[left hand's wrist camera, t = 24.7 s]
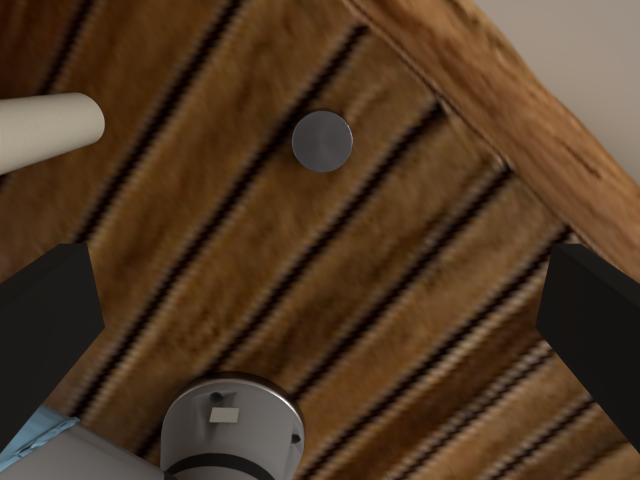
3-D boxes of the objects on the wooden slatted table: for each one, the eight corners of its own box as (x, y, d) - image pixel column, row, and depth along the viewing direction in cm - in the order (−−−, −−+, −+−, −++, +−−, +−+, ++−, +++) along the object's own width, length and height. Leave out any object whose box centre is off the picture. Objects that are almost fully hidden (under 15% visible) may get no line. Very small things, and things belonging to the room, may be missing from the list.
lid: (282, 127, 36) (280, 131, 34) (332, 96, 35) (333, 99, 33) (312, 176, 38) (311, 183, 35) (360, 147, 37) (363, 153, 34)
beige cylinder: (113, 111, 36) (-27, 142, 21) (93, 155, 37) (-52, 212, 22) (63, 81, 35) (-118, 91, 20) (44, 126, 36) (-139, 166, 22)
